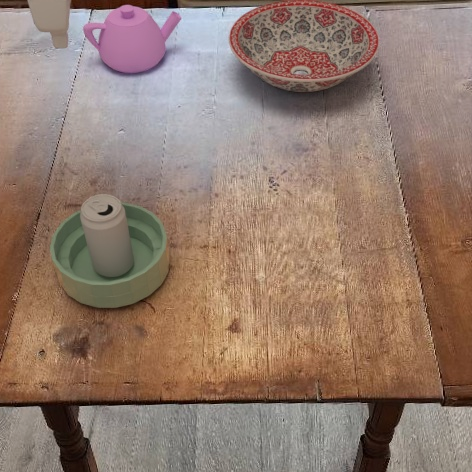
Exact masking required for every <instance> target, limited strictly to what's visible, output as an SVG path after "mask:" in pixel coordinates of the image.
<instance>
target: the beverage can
mask: <svg viewBox="0 0 472 472" xmlns="http://www.w3.org/2000/svg"><path fill="white" fill-rule="evenodd" d="M121 202H122V201H120V199H119V198H118V197H116V196H115V195H112V194H109V193H100V194H94V195H91V196H90V197H89V198H86V199H85V201H83V203H82V205H81V207H80V210H81V214H80V219H81V223H82V226H83V230H84V234H85V238H86V242H87V246H88V250H89V253H90V257H91V261H92V265H93V268H94V270H95V271H96V272H97V273H98V274H100V275H102V276H105V277H117V276H121V275H123V274H125V273H126V272H128V271H129V270H130V269H131V267H132V266H133V263H134V257H133V251H132V246H131V240H130V235H129V230H128V224H127V219H126V214H125V209H124V207H123V205H122V204H121Z"/></svg>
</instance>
